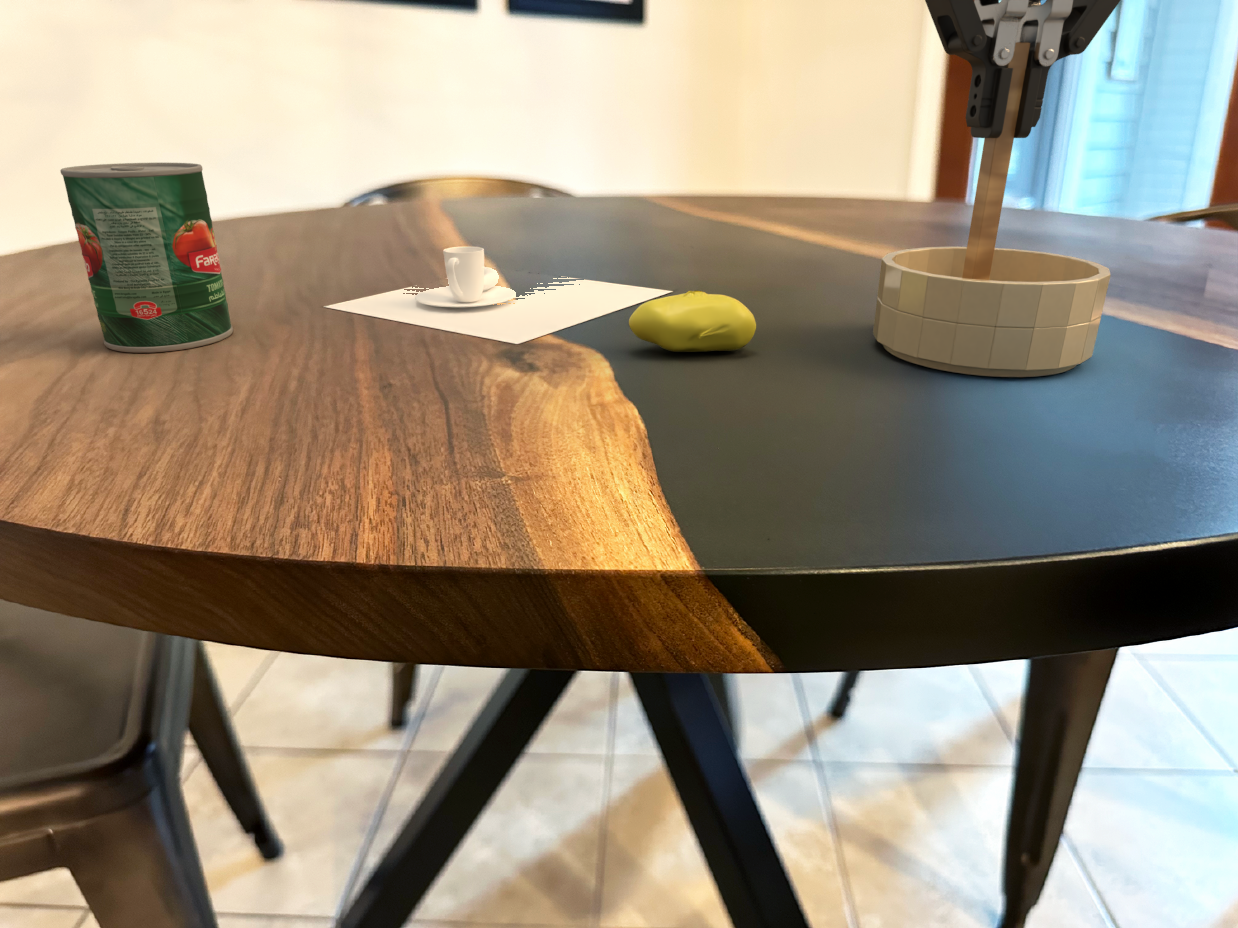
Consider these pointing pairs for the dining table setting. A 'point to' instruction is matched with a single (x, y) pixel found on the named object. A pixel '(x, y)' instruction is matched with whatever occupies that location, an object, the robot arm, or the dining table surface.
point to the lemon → (694, 322)
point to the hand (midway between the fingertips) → (999, 136)
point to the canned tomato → (149, 254)
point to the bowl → (990, 311)
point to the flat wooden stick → (994, 178)
